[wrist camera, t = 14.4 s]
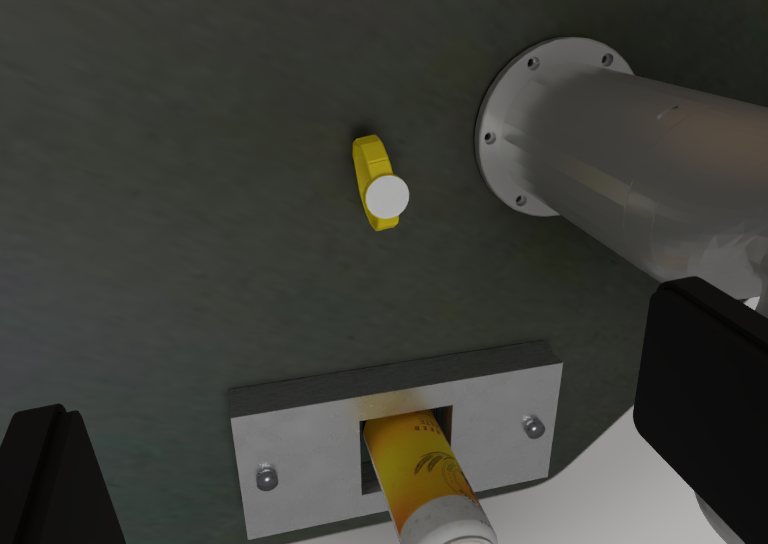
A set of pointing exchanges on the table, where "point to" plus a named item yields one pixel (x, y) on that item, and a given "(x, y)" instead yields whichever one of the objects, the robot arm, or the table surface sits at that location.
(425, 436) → the beer can
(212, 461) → the table surface
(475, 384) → the gray block with hole
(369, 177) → the watch
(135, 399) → the table surface
